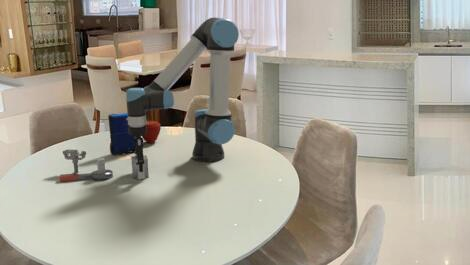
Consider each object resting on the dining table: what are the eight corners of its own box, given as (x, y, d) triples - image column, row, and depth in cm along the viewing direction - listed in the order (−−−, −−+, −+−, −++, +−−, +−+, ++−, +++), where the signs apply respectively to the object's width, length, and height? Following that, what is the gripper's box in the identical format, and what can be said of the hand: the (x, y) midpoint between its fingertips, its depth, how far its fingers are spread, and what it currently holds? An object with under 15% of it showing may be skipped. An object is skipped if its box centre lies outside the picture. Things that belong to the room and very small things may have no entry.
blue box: (112, 156, 270) (109, 115, 265) (108, 154, 274) (105, 113, 269) (140, 151, 277) (138, 111, 272) (136, 149, 282) (133, 110, 277)
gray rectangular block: (147, 173, 244) (146, 155, 242) (148, 177, 238) (147, 159, 236) (132, 174, 242) (131, 156, 240) (133, 178, 236) (132, 160, 234)
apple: (137, 144, 290) (135, 122, 287) (143, 139, 300) (142, 117, 297) (157, 145, 288) (156, 122, 285) (163, 140, 298) (162, 117, 295)
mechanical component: (85, 174, 244) (83, 151, 242) (63, 173, 246) (61, 151, 244) (88, 171, 247) (86, 150, 244) (67, 171, 249) (65, 149, 246)
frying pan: (112, 173, 245) (111, 155, 243) (113, 179, 236) (111, 161, 234) (61, 177, 240) (59, 159, 238) (59, 184, 231) (57, 165, 229)
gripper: (126, 119, 246) (130, 166, 251) (129, 132, 222) (133, 183, 227) (144, 118, 247) (146, 164, 252) (148, 131, 224) (151, 182, 229)
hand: (140, 174), depth 240 cm, fingers open, 13 cm apart
